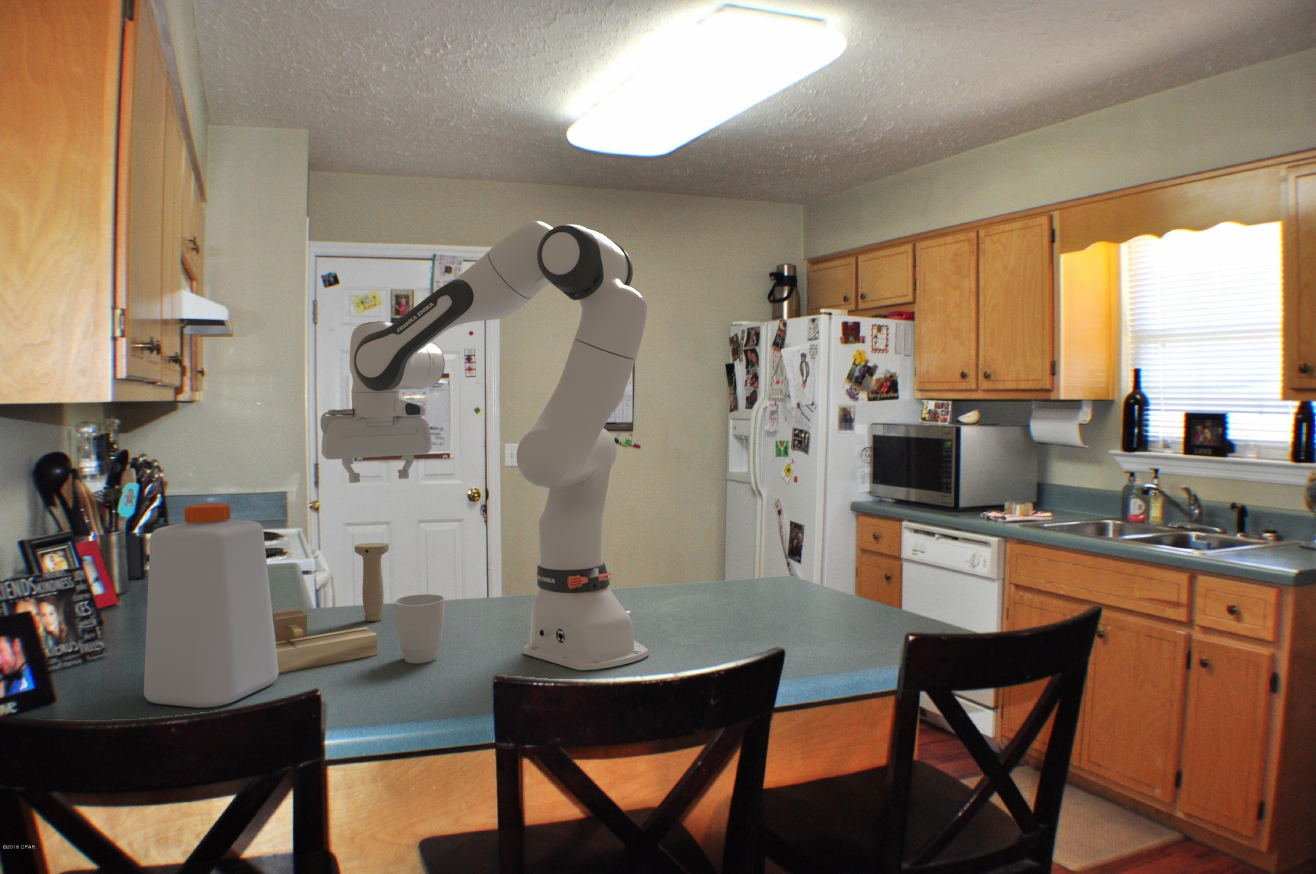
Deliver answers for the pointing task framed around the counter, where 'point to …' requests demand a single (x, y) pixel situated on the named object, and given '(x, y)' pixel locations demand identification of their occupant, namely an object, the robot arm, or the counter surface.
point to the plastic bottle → (208, 611)
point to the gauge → (289, 624)
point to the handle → (372, 579)
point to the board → (325, 649)
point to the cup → (420, 626)
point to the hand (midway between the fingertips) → (379, 480)
